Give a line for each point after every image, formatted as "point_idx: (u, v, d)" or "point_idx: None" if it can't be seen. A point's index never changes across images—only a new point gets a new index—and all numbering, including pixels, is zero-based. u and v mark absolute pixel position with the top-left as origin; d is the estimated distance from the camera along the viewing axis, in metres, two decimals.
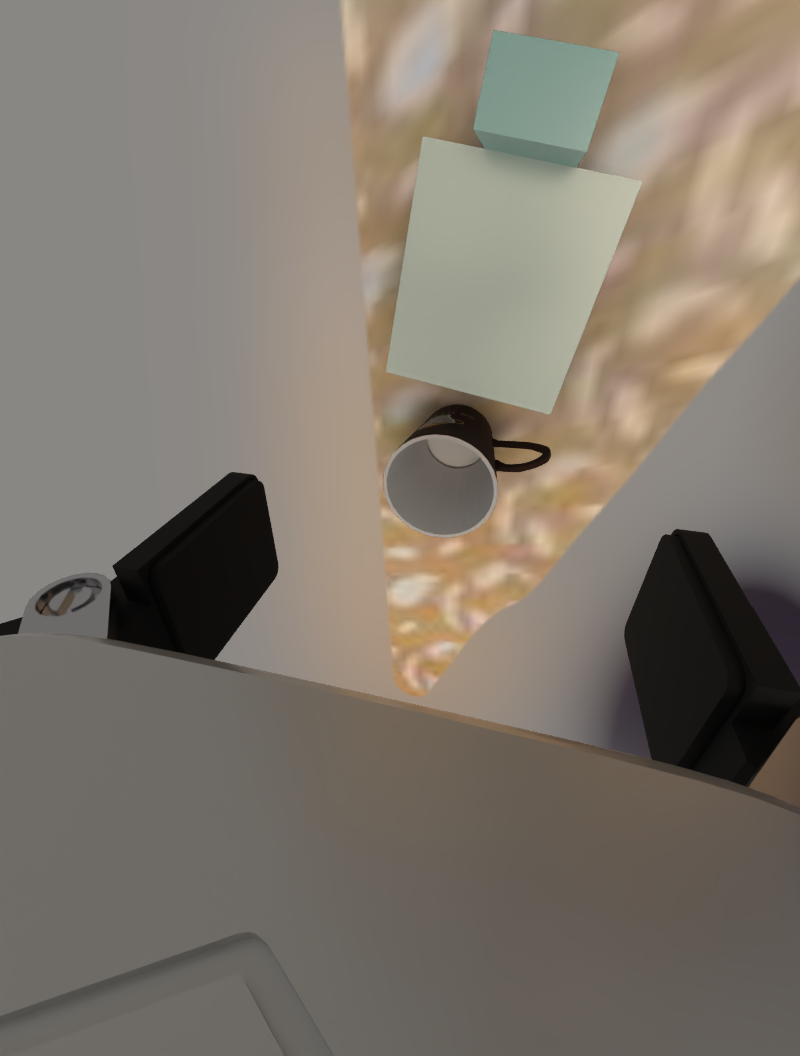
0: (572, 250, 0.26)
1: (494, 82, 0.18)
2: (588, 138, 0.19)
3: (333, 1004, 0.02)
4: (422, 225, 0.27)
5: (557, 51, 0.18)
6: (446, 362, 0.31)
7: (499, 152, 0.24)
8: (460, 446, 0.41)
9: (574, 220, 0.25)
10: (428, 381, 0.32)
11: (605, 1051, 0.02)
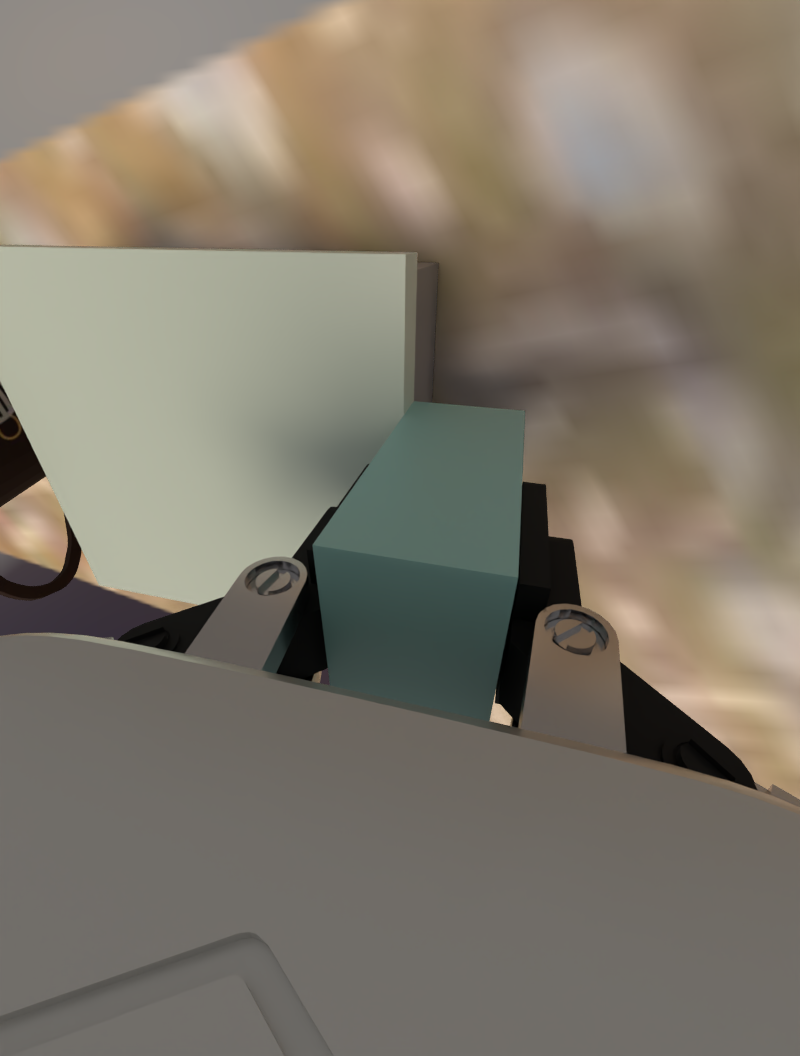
0: None
1: (414, 586, 0.07)
2: None
3: (333, 1004, 0.02)
4: (243, 292, 0.11)
5: (477, 696, 0.08)
6: (51, 402, 0.14)
7: None
8: None
9: None
10: None
11: (605, 1051, 0.02)
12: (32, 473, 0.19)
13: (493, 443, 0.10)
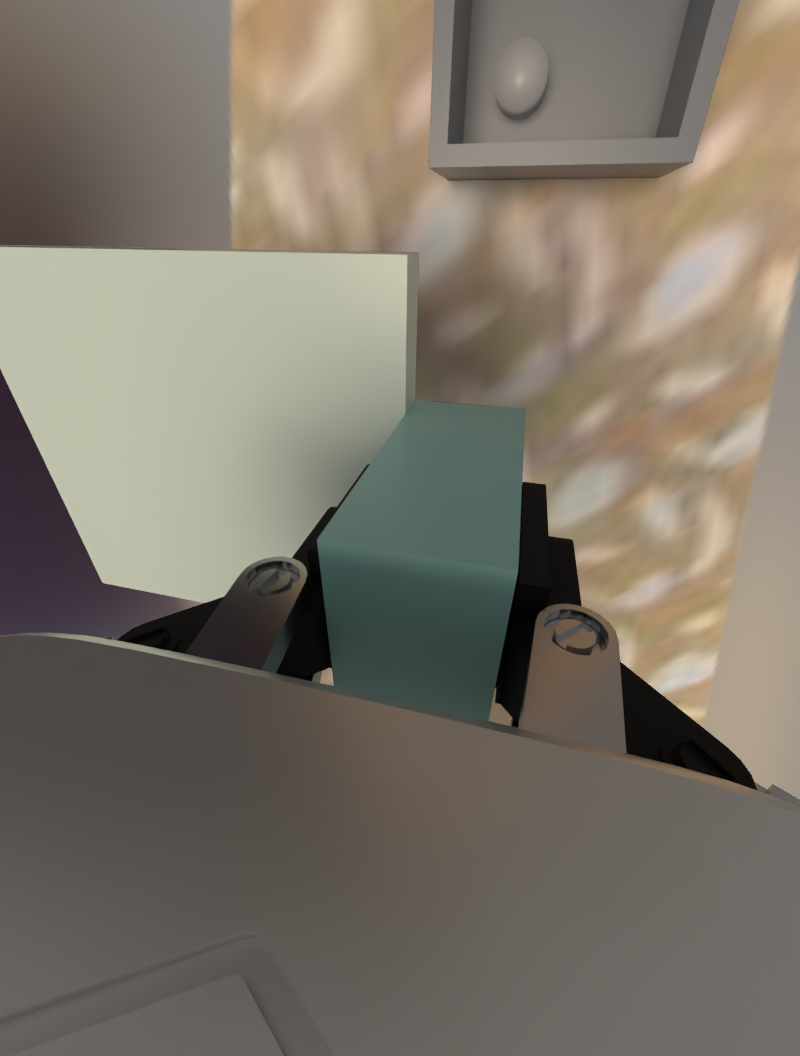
0: None
1: (415, 580, 0.07)
2: None
3: (333, 1001, 0.02)
4: (246, 292, 0.11)
5: (478, 688, 0.08)
6: (56, 401, 0.14)
7: None
8: None
9: None
10: (2, 366, 0.14)
11: (605, 1051, 0.02)
12: None
13: (494, 441, 0.10)
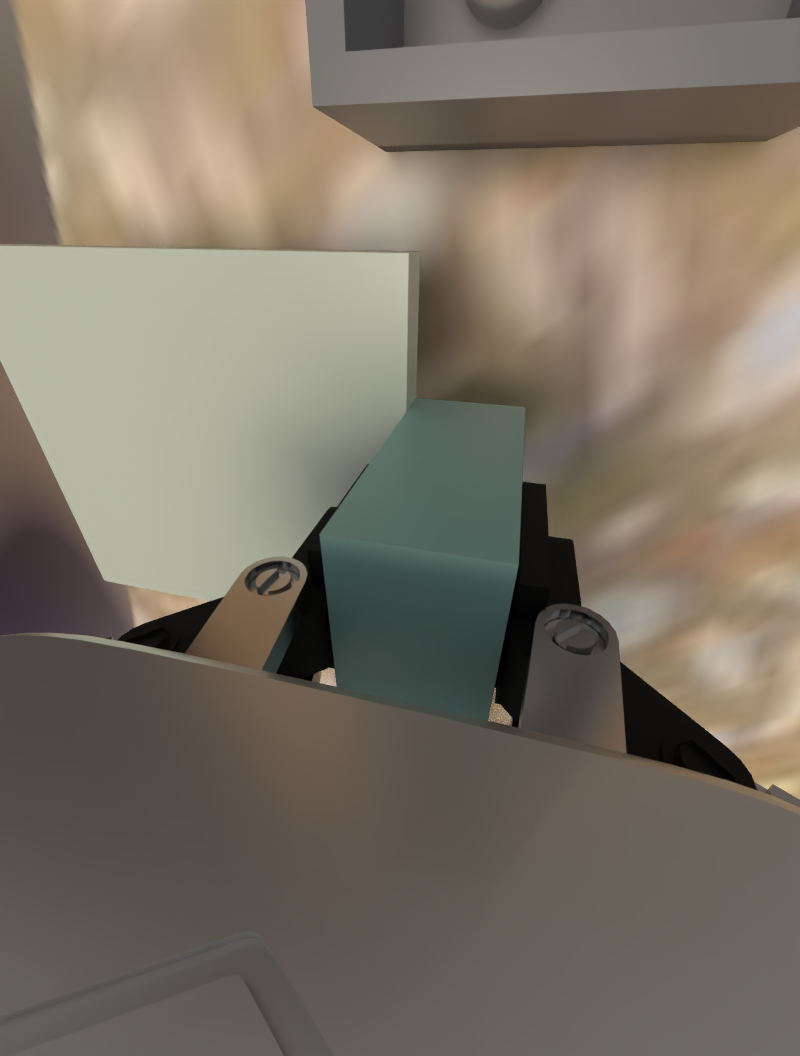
0: None
1: (417, 574, 0.07)
2: None
3: (333, 1002, 0.02)
4: (249, 290, 0.11)
5: (479, 682, 0.08)
6: (59, 399, 0.14)
7: None
8: None
9: None
10: (5, 365, 0.14)
11: (605, 1050, 0.02)
12: None
13: (494, 437, 0.10)
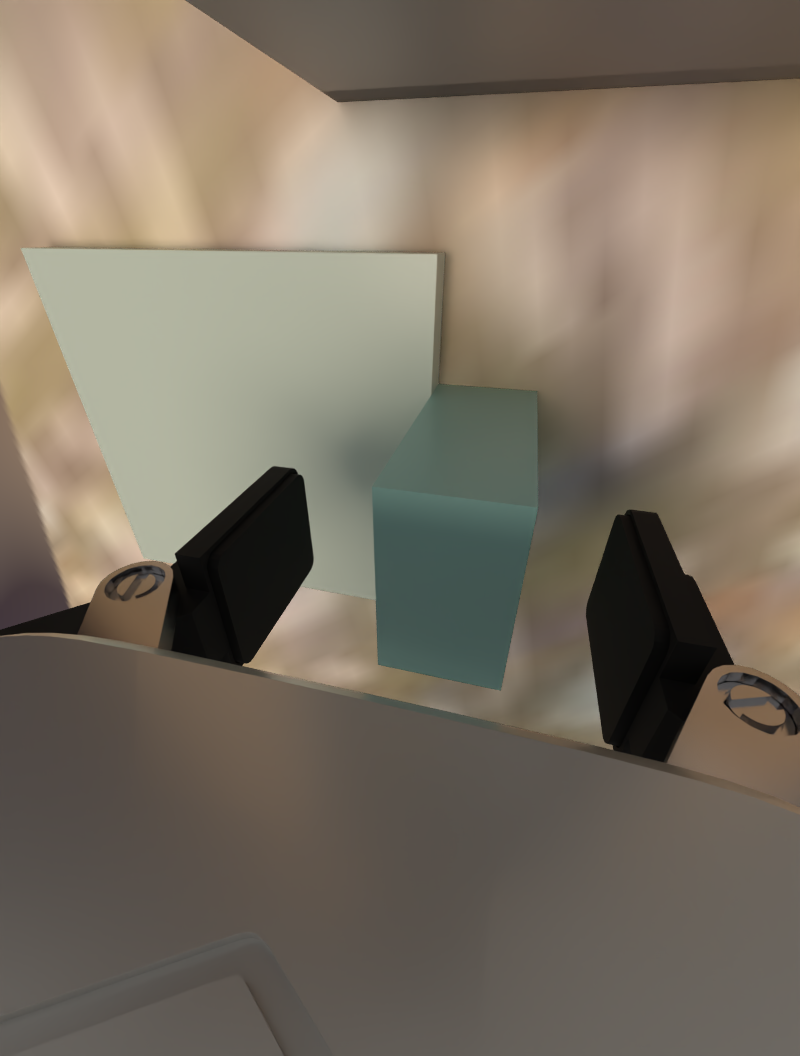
0: (333, 549, 0.17)
1: (453, 519, 0.08)
2: (395, 664, 0.11)
3: (335, 1002, 0.02)
4: (294, 287, 0.12)
5: (502, 617, 0.09)
6: (113, 387, 0.16)
7: None
8: None
9: (366, 545, 0.17)
10: (66, 356, 0.15)
11: (605, 1050, 0.02)
12: None
13: (511, 415, 0.12)
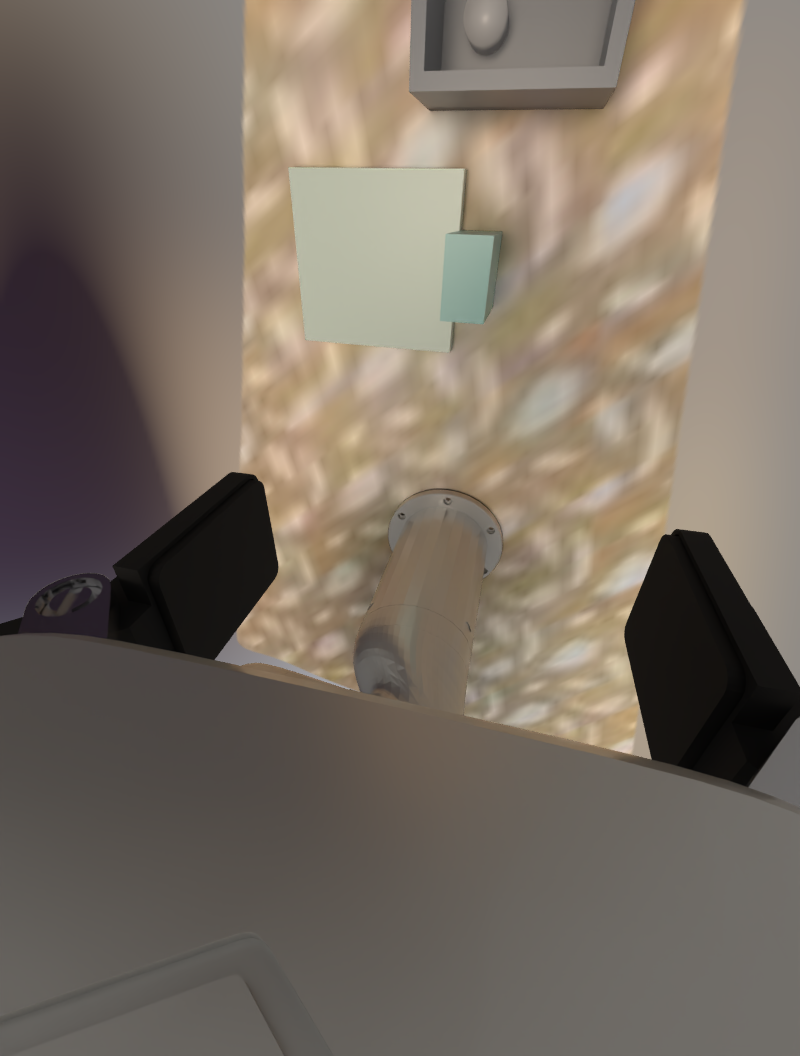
0: (408, 320, 0.37)
1: (469, 243, 0.28)
2: (446, 319, 0.30)
3: (333, 1006, 0.02)
4: (407, 183, 0.31)
5: (484, 285, 0.29)
6: (314, 235, 0.35)
7: None
8: None
9: (425, 315, 0.36)
10: (294, 219, 0.34)
11: (605, 1051, 0.02)
12: None
13: (490, 232, 0.31)
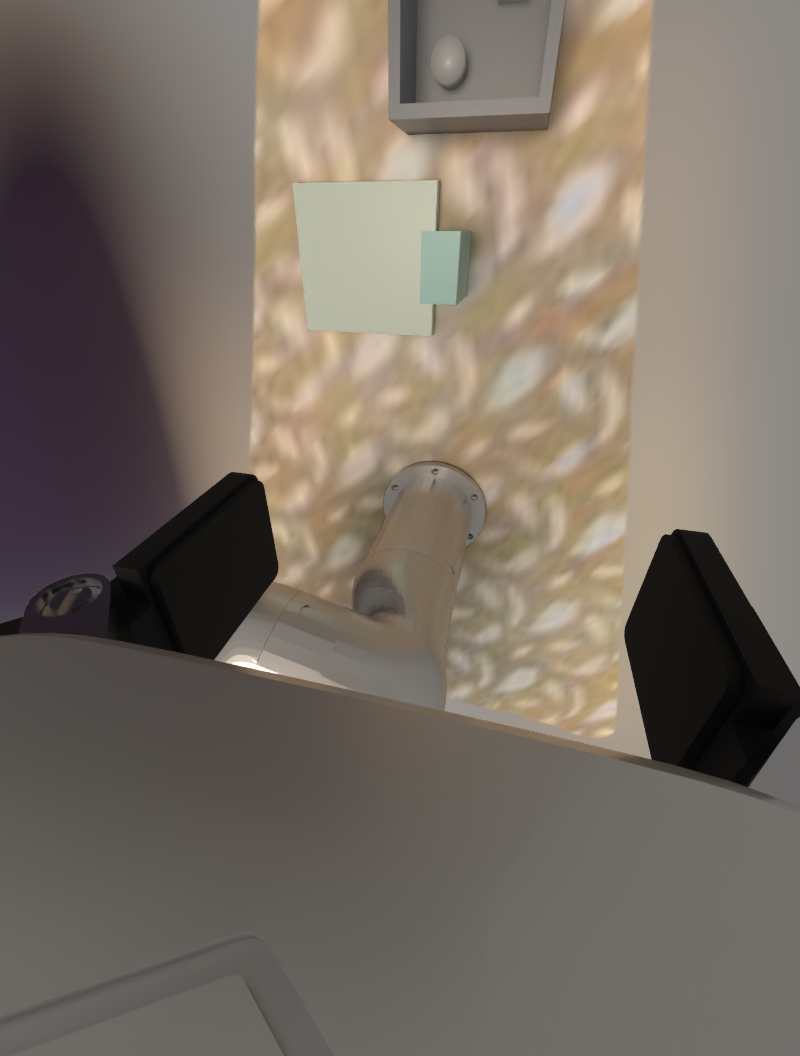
0: (395, 309, 0.43)
1: (441, 238, 0.34)
2: (424, 302, 0.37)
3: (333, 1004, 0.02)
4: (391, 193, 0.38)
5: (454, 272, 0.35)
6: (315, 238, 0.41)
7: None
8: None
9: (409, 304, 0.42)
10: (298, 226, 0.41)
11: (605, 1050, 0.02)
12: None
13: None
